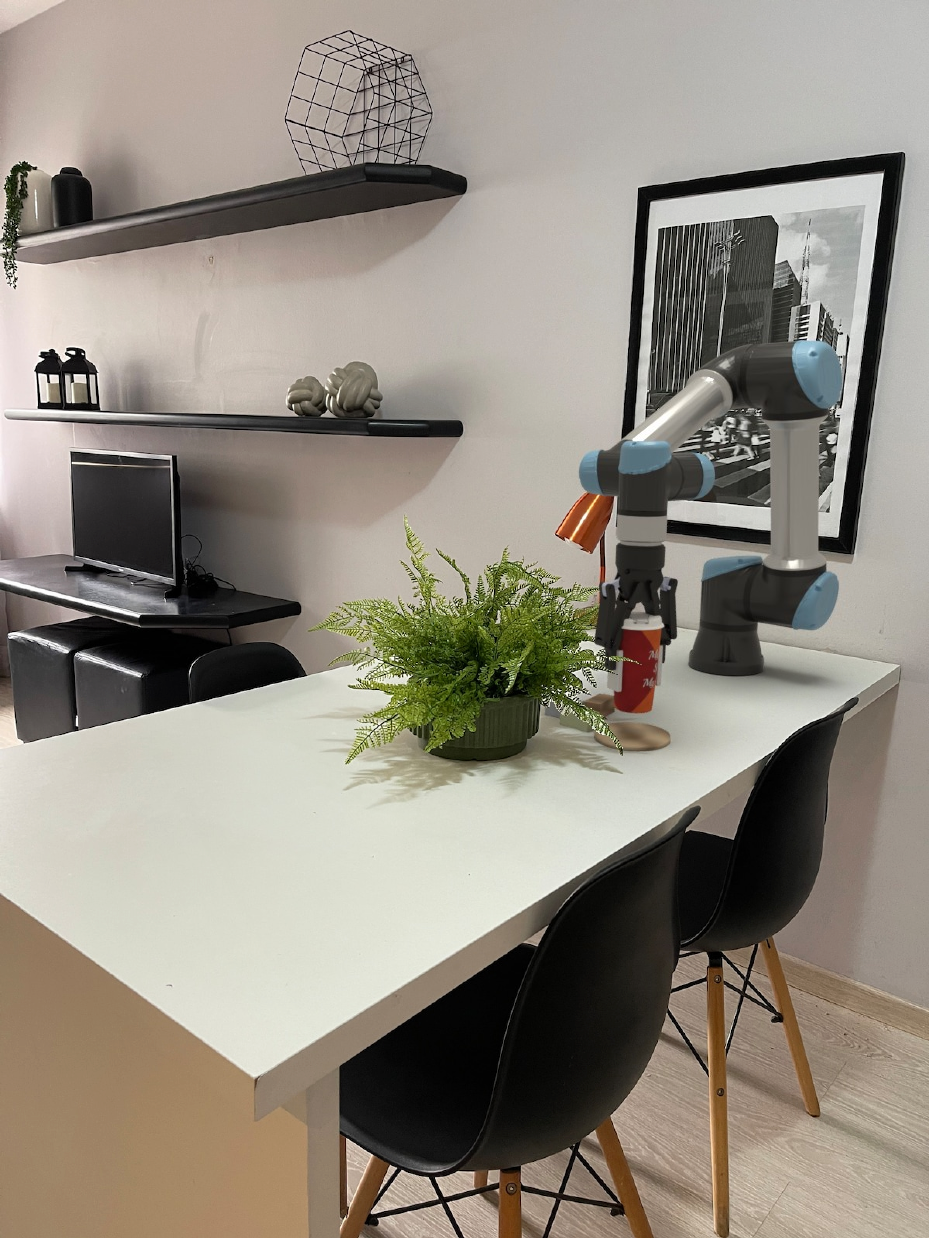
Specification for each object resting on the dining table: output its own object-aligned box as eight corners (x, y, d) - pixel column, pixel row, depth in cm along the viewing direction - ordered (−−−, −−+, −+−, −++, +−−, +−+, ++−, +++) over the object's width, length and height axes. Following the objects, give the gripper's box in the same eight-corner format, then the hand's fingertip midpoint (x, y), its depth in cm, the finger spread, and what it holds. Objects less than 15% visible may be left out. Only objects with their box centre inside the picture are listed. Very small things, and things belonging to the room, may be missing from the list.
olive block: (559, 724, 159) (560, 707, 158) (571, 721, 161) (572, 704, 160) (586, 733, 154) (587, 716, 154) (598, 729, 156) (599, 712, 156)
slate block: (583, 717, 163) (584, 701, 162) (575, 722, 160) (576, 705, 160) (553, 711, 166) (553, 695, 165) (544, 715, 164) (545, 699, 163)
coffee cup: (663, 716, 146) (669, 621, 143) (610, 715, 146) (614, 620, 144) (654, 700, 155) (659, 610, 152) (604, 699, 155) (607, 610, 152)
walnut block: (599, 709, 168) (599, 693, 167) (614, 712, 166) (615, 695, 165) (583, 718, 163) (584, 701, 162) (599, 721, 161) (600, 704, 160)
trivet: (638, 722, 160) (638, 718, 159) (686, 743, 149) (686, 738, 149) (579, 732, 154) (579, 728, 154) (624, 755, 144) (625, 750, 143)
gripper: (675, 537, 153) (668, 673, 158) (572, 543, 144) (568, 688, 148) (707, 542, 147) (698, 684, 151) (602, 548, 137) (596, 700, 142)
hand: (634, 686), depth 150 cm, fingers closed on coffee cup, 7 cm apart
